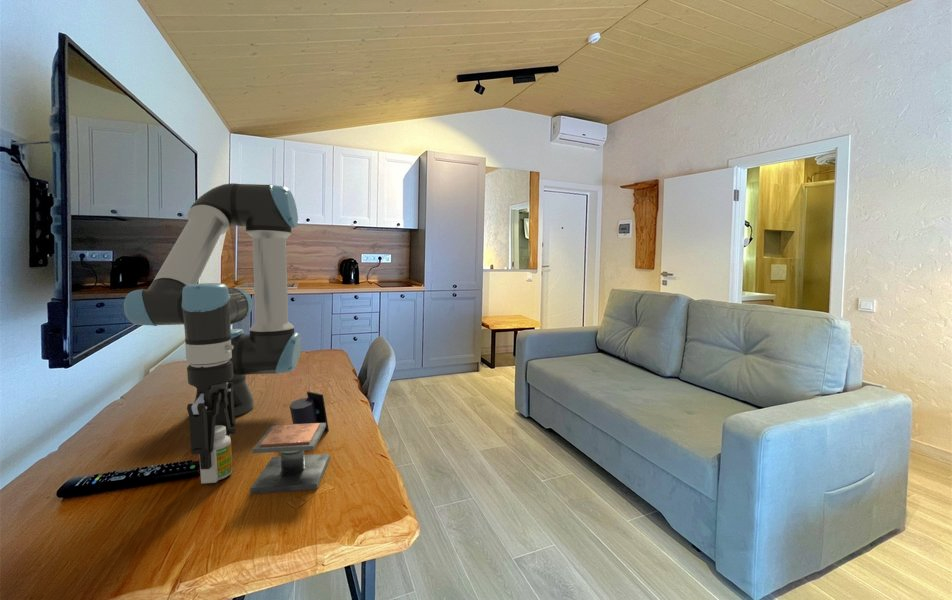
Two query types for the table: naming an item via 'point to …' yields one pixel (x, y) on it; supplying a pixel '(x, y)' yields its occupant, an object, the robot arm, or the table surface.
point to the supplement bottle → (223, 452)
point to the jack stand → (291, 459)
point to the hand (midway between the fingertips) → (217, 473)
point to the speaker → (309, 410)
